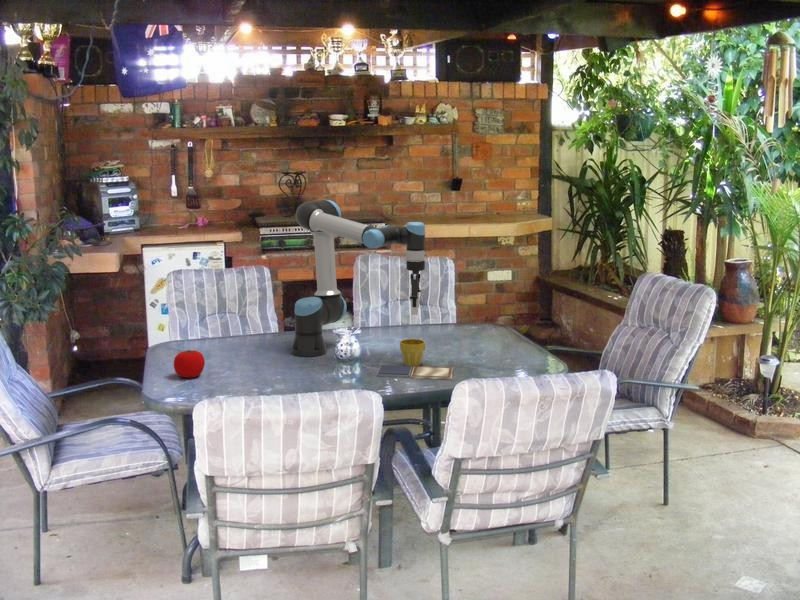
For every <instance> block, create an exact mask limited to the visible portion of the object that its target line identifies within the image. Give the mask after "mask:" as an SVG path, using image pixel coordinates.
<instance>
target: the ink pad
mask: <svg viewBox="0 0 800 600" xmlns="http://www.w3.org/2000/svg"><path fill="white" fill-rule="evenodd" d="M412 370H413V367H412V366H406V365H388V364H387V365H385V364H381V365H380V366H379V368H378V370H377V373H376V377H379V378H380V377H382V378H384V377H386V378H387V377H388V378H410V379H411V374H412Z"/></svg>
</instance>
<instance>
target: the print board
mask: <svg viewBox="0 0 800 600" xmlns="http://www.w3.org/2000/svg"><path fill="white" fill-rule="evenodd" d="M453 373H454V366H433V365H432V366H430V365H429V366H428V365H419V366H413V367H412V371H411V375H410V379H413V380H436V379H445V380H444V381H452V380H453Z"/></svg>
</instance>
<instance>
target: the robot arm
mask: <svg viewBox="0 0 800 600" xmlns="http://www.w3.org/2000/svg"><path fill="white" fill-rule="evenodd" d="M295 220H296V223H297V224H298V225H299V226H300V227H301V228H302V229H305V230H308V231H309V232H310V234H311V235H312V236H313V241H314V243H313V244H314V245H313V246H314V259H315V272H316V273H315V274H316V288H317V289H316V291H315V293H314V295H313V296H309V297H303V298H299V299H297V300H296V302H295V303H294V310H293V311H294V331H295V332H294V338H293V341H292V345H291V348H290V353H291V354H292V355H294V356H297V357H307V358H308V357H309V358H310V357H312V358H313V357H318V356H319V357H320V356H323V355H326V354H327V345H326V342H325V339H324V336H323V326H325V325H329V324H334V323H337V322H339V321H340V320H342V319H344V317H345V315H346V313H347V306H348V305H347V302H346V300H345V299H344V297H343V296H342V294H341V293H342V292H341V291H340V290H339V289H338V284H337V270H336V251H335V236H337V237H341V238H343V239H347V240H351V241H354V242H358V243H361V244H364V246H365V247H367V248H368V249H379V248H382V247H388V246H393V245H402V246H406V250H405V252H406V254H405V257H406V259H405V260H406V265H405V267H406V270H407V271H410V272H411V271H412V273H410V286H411V293H410V294H411V295H410V296H409V300H410V315H412V316H418V315H419V309H420V293H422V289H420V282H421V273H420V271H424V270H425V269H426V267H425V266H426V264H425V263H426V261H425V257H426V256H425V255H427V252H425V250H426V248H425V247H426V246H425V245H426V227H425V226H426V225H425V224H424V222H421V221H409V222H406V225H405V226H403V225H402V226H401V225H392V224H391V225H384V226H383V227H379V228H378V227H374V226H370V225H367V224H364V223H361V222H357V221H354V220H352V219H351V220H350V219H347V218H343V217H342V211H341V208H340V207H339V205H338V204H337V203H336V202H335V201H333V200H330V199H320V200H312V201H310V200H309V201H305V202H303V203H301V204H300V205H299V206H298V207H297V208H296V211H295Z"/></svg>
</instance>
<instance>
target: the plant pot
mask: <svg viewBox="0 0 800 600" xmlns="http://www.w3.org/2000/svg"><path fill="white" fill-rule="evenodd" d="M399 350H400V351H401V353H402V359H403V363H404V366H411V367H412V366H413V367H414V366H421V363H422V360H423V354H424V351H425V350H426V341H425V340H423V339H419V338H406V339H402V340H400V341H399Z"/></svg>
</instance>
